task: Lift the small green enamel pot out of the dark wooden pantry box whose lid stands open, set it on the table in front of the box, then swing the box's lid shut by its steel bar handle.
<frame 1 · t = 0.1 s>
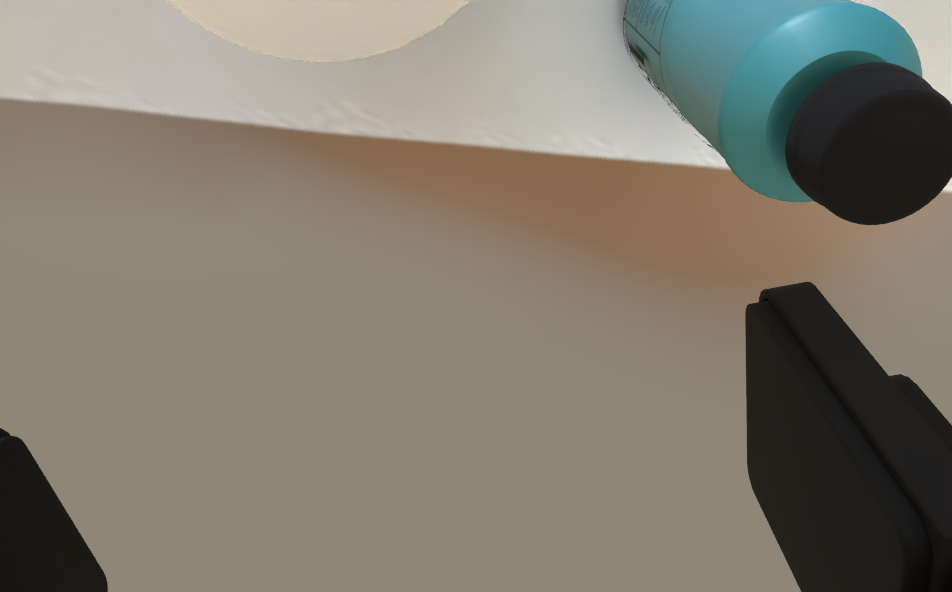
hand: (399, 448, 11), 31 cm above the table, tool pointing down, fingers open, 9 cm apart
beverage bottle: (682, 5, 39), on the table
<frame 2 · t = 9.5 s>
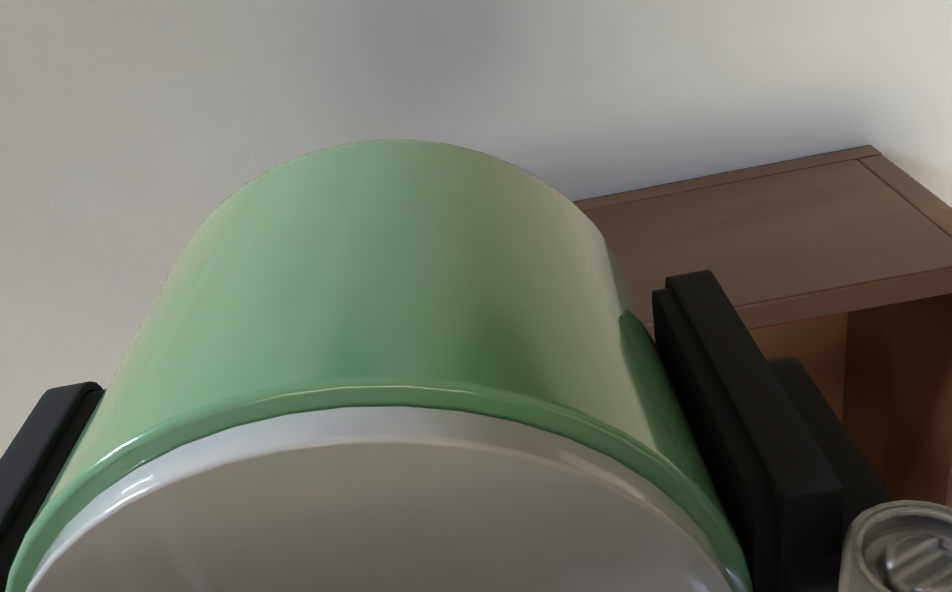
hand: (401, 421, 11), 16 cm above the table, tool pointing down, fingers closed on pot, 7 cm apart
pantry box: (621, 384, 31), on the table
pot: (403, 361, 12), point 14 cm above the table, touching gripper
when the fingers open (1 cm above the table, at t = 13.4 s): pot stays where it is, on the table.
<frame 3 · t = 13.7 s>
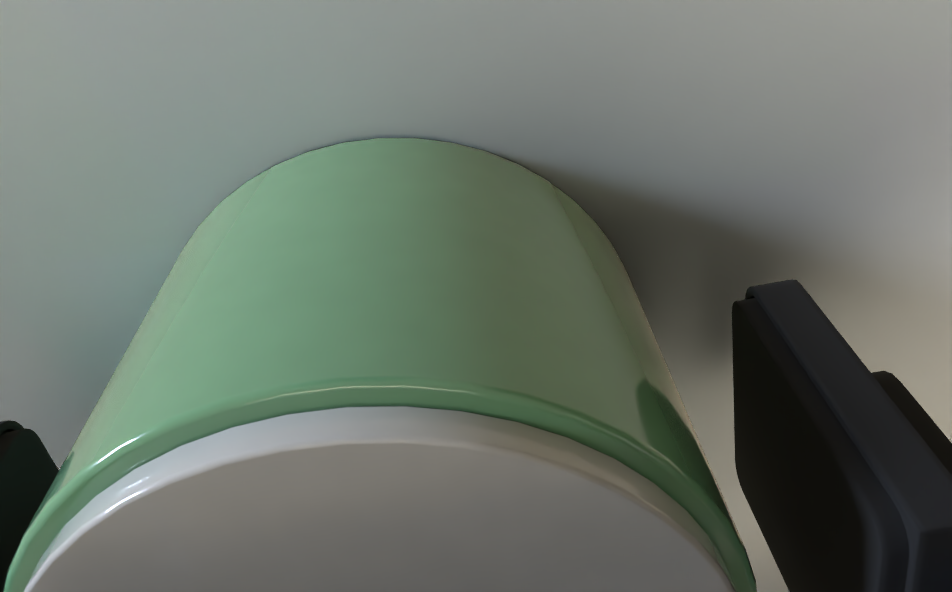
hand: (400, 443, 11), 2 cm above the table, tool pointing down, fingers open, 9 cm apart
pot: (404, 361, 12), on the table
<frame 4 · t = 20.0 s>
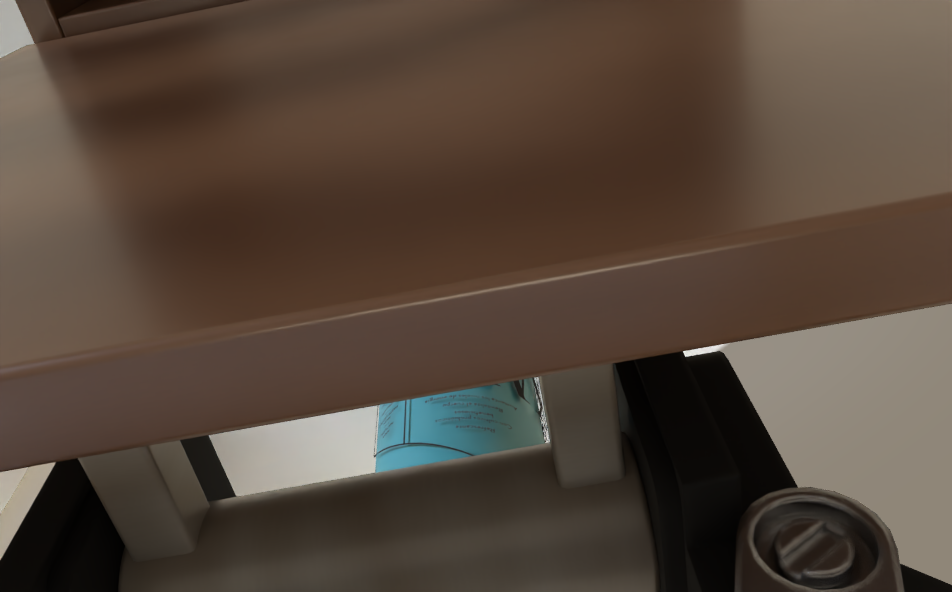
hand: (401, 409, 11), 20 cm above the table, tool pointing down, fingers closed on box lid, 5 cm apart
box lid: (387, 205, 14), point 16 cm above the table, hinge at 88.0°, touching gripper
cylindrical container: (132, 457, 37), on the table
beverage bottle: (455, 353, 35), on the table
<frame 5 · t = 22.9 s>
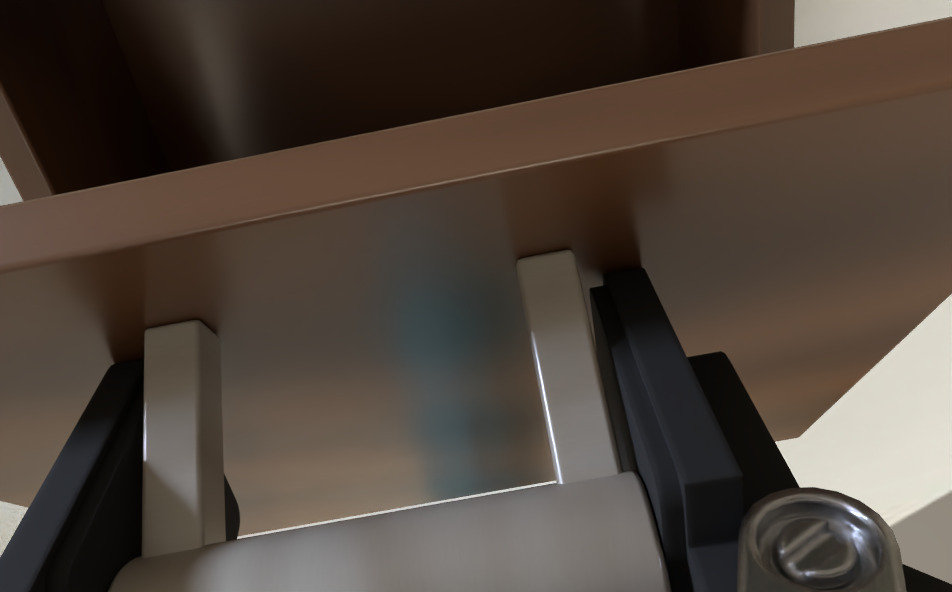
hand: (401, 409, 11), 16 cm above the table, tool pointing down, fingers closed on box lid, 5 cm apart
box lid: (453, 517, 15), point 15 cm above the table, hinge at 35.6°, touching gripper
pantry box: (424, 123, 26), on the table
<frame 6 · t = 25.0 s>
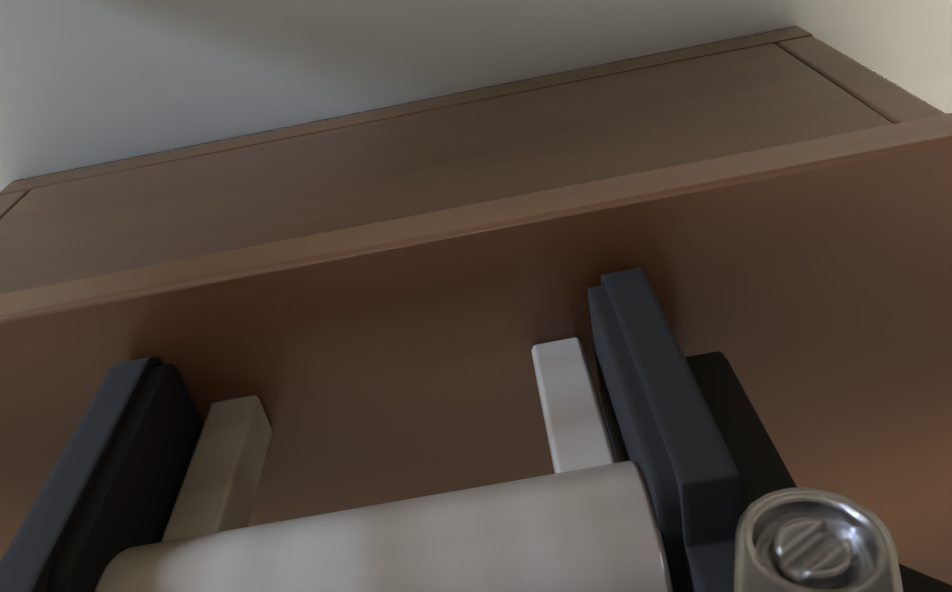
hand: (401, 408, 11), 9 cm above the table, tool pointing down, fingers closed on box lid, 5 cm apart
pantry box: (462, 385, 22), on the table
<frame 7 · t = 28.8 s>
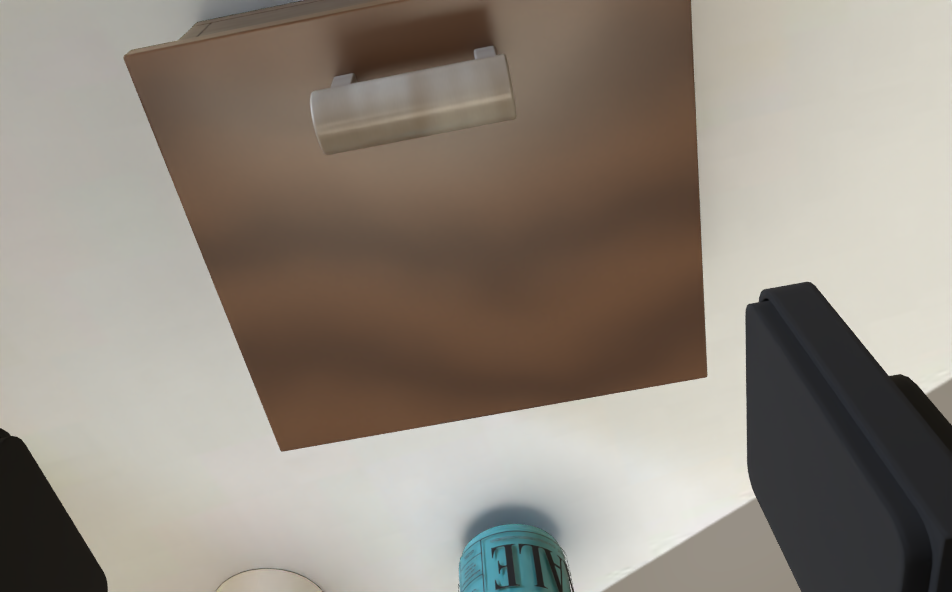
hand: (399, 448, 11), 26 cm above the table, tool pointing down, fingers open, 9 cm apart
box lid: (453, 261, 27), point 10 cm above the table, hinge at -0.2°, touching pantry box
pantry box: (449, 160, 36), on the table
beverage bottle: (509, 537, 49), on the table
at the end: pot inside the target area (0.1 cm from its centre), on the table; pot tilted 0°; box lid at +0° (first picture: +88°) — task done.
